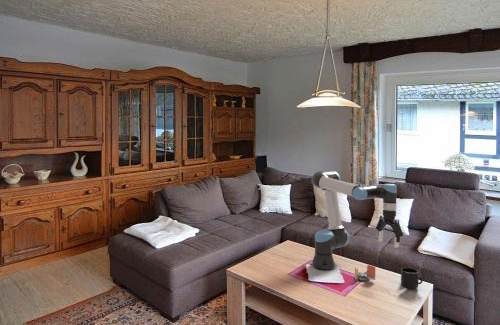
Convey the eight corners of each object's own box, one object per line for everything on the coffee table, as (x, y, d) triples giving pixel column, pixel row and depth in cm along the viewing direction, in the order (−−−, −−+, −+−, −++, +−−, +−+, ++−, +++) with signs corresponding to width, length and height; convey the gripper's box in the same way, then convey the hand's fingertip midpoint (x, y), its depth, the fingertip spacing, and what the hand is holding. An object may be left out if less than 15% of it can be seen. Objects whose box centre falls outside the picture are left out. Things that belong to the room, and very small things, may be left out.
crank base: (349, 279, 217) (349, 266, 216) (360, 275, 224) (360, 262, 224) (362, 283, 210) (362, 270, 209) (372, 279, 217) (372, 266, 217)
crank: (357, 275, 218) (357, 263, 217) (361, 274, 220) (361, 261, 220) (373, 280, 210) (373, 267, 209) (376, 279, 212) (376, 266, 212)
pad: (353, 272, 228) (353, 271, 228) (363, 269, 235) (363, 268, 235) (368, 277, 220) (368, 276, 220) (378, 273, 227) (378, 272, 227)
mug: (418, 291, 198) (418, 275, 198) (397, 285, 207) (398, 270, 207) (425, 287, 204) (425, 271, 204) (405, 281, 213) (405, 266, 213)
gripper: (370, 206, 221) (369, 239, 222) (399, 213, 197) (398, 250, 198) (380, 205, 223) (379, 238, 224) (410, 213, 200) (409, 249, 201)
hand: (388, 244), depth 211 cm, fingers open, 13 cm apart
